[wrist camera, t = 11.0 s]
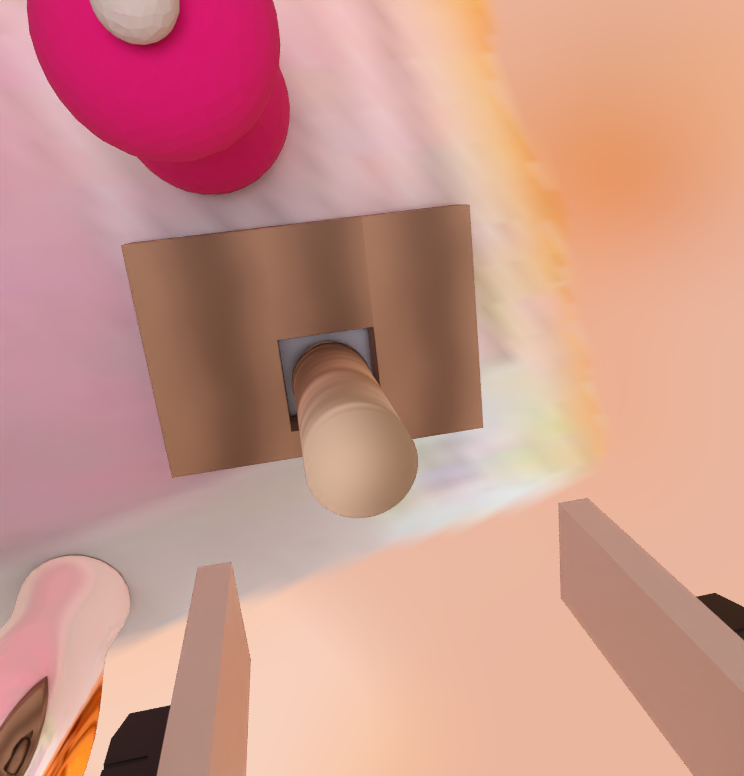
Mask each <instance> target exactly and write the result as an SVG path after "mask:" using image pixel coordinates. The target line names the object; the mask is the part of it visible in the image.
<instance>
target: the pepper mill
mask: <svg viewBox="0 0 744 776" xmlns="http://www.w3.org/2000/svg"><path fill="white" fill-rule="evenodd" d="M27 13H28V22H29V31H30V36H31V39H32V42H33V46H34V49H35V52H36V55H37V58H38V60H39V63H40V65H41V67H42V69H43V72H44V74H45V76H46V78H47V80H48V82H49V84H50V85H51V87H52V88H53V90H54V91H55V93H56V95H57V96H58V98H59V99H60V100H61V102H62V103H63V104H64V105H65V106H66V108H67V109H68V110H69V111H70V112H71V114H72V115H73V116H74V117H75V118H76V119H77V120H78V121H79V122H80V123H81V124H82V125H84V126H85V127H86V128H87V129H88V130H90V131H91V132H92V133H93V134H94V135H96V136H97V137H99V138H100V139H101V140H103V141H104V142H106V143H108V144H110V145H112V146H114V147H116V148H118V149H120V150H122V151H124V152H126V153H128V154H130V155H133V156H137V157H138V158H139V159H140V160H141V161H142V163H143V164H144V165H145V166H146V167H147V168H148V169H149V170H150V171H152V172H153V173H154V174H156V175H157V176H158V177H160V178H161V179H162V180H164V181H166V182H167V183H169V184H171V185H173V186H175V187H177V188H180V189H183V190H185V191H189V192H194V193H199V194H224V193H229V192H233V191H236V190H239V189H241V188H244V187H246V186H248V185H249V184H251V183H253V182H254V181H256V180H258V179H259V178H260V177H261V176H262V175H263V174H264V173H265V172H266V171H267V170H268V169H269V168H270V167H271V166H272V164H273V163H274V162H275V160H276V159H277V157H278V155H279V153H280V151H281V149H282V147H283V145H284V142H285V139H286V136H287V131H288V126H289V113H290V106H289V98H288V91H287V88H286V84H285V80H284V78H283V75H282V73H281V70H280V68H279V57H280V37H279V28H278V21H277V14H276V10H275V7H274V3H273V1H272V0H27Z"/></svg>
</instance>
